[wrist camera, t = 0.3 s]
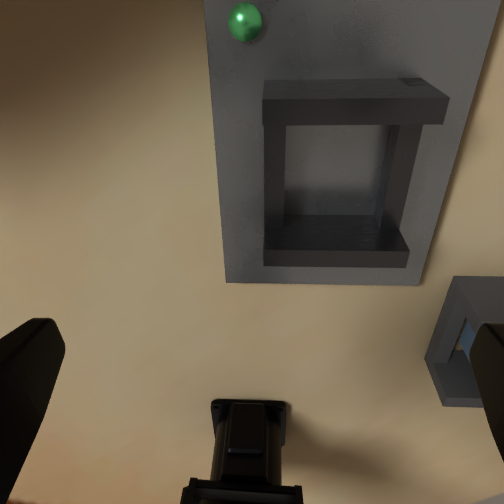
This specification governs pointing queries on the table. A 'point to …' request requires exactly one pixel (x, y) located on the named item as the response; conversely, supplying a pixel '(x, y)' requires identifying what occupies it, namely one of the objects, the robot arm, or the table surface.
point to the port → (338, 131)
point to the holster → (447, 331)
